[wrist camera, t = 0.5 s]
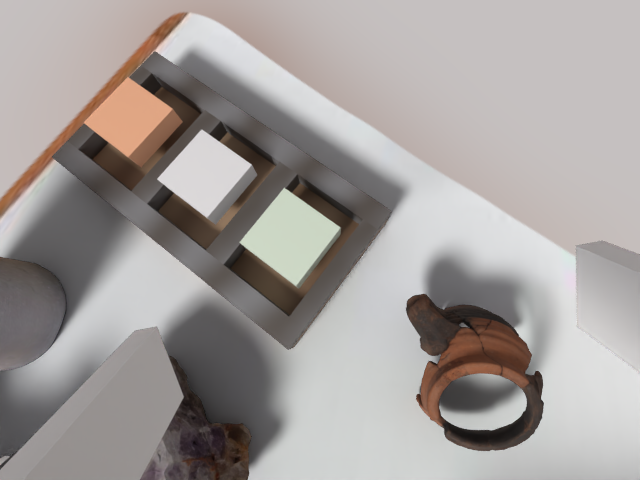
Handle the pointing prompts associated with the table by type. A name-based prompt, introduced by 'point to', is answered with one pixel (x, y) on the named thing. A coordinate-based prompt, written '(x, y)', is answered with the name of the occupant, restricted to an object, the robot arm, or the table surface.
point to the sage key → (291, 237)
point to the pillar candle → (27, 312)
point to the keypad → (223, 238)
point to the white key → (208, 176)
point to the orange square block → (134, 121)
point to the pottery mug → (474, 366)
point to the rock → (198, 444)
